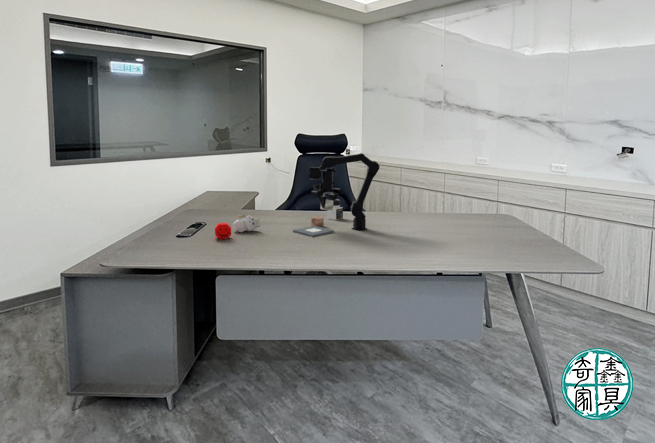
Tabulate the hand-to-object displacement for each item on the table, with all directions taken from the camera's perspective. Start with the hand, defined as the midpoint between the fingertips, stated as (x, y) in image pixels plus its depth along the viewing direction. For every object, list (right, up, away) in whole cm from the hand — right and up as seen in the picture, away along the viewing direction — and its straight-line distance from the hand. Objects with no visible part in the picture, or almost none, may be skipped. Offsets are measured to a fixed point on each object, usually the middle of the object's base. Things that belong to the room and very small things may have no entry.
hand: (326, 207), depth 276 cm
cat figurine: (-44, -13, -4) cm, 46 cm away
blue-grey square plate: (-7, -14, -5) cm, 16 cm away
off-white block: (0, -1, 0) cm, 1 cm away
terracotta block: (-5, -10, +11) cm, 16 cm away
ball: (-54, -17, -19) cm, 59 cm away
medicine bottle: (+5, -6, +31) cm, 32 cm away
